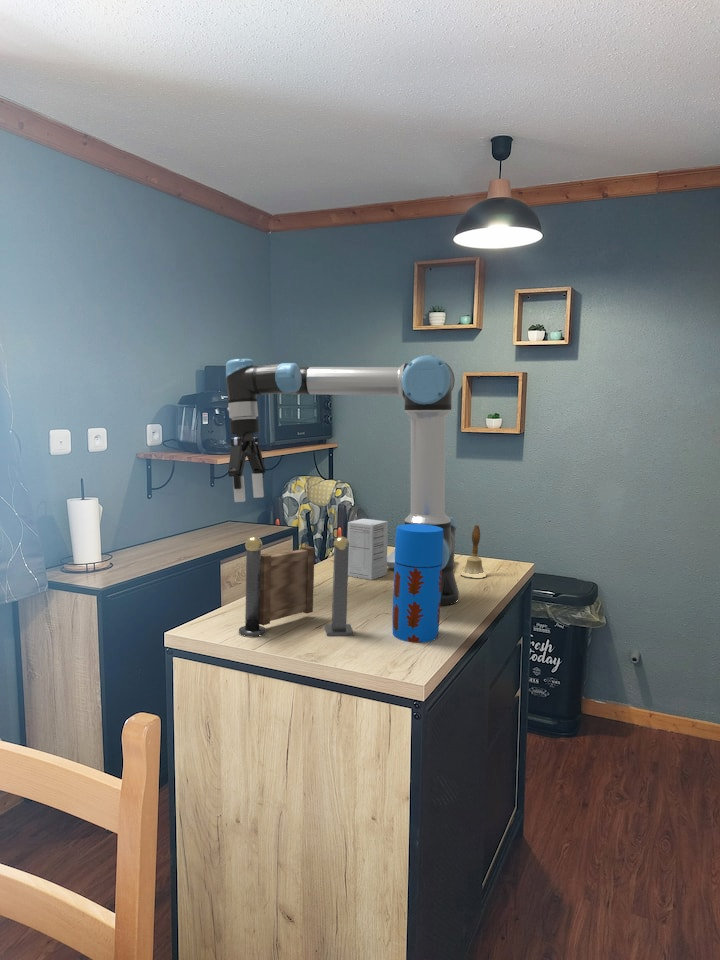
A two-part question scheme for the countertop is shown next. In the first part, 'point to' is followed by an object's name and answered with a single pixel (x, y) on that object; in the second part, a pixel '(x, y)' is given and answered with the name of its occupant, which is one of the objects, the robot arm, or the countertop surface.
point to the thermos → (417, 582)
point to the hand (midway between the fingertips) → (249, 499)
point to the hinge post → (252, 588)
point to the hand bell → (474, 555)
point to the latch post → (340, 590)
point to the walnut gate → (286, 584)
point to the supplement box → (367, 548)
